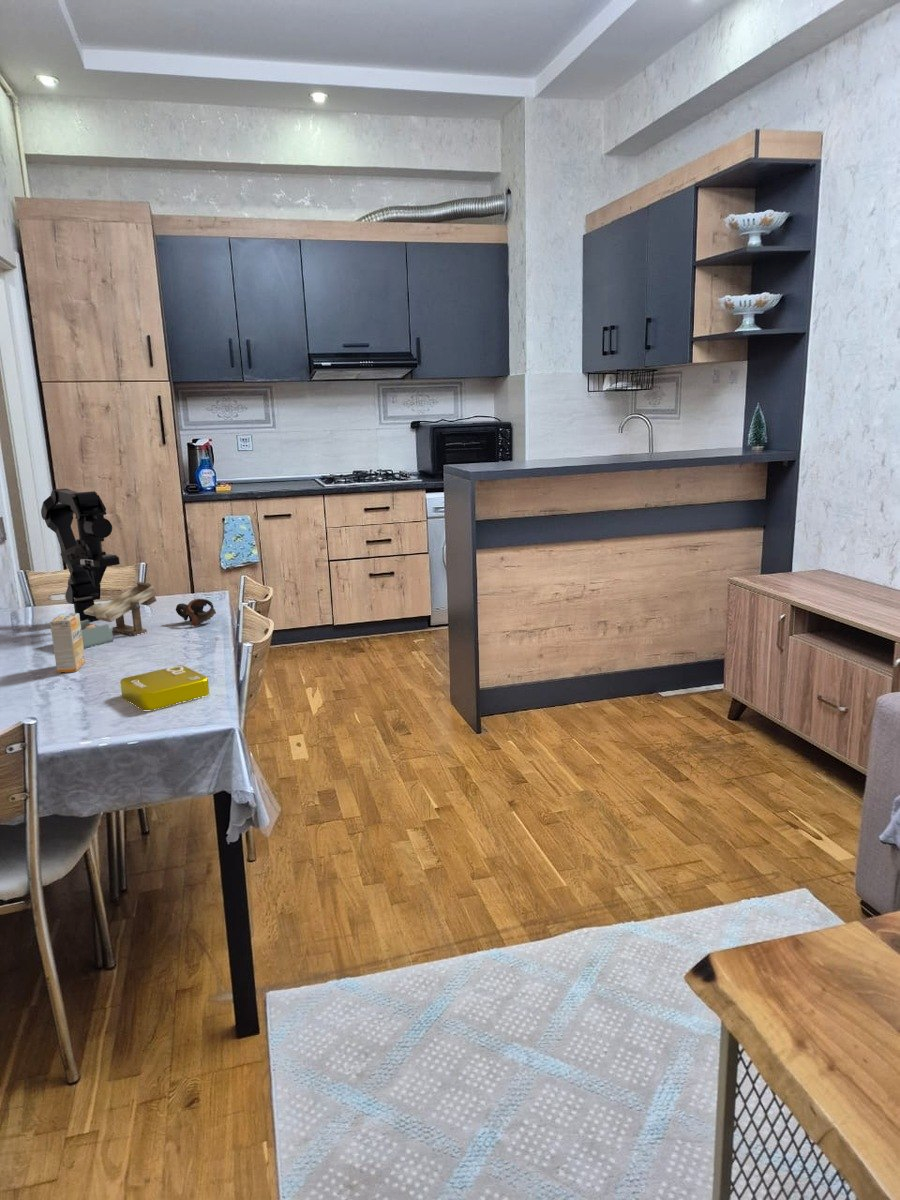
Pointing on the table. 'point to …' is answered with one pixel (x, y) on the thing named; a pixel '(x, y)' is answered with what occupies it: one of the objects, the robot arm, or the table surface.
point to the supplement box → (67, 642)
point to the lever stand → (136, 622)
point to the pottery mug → (196, 611)
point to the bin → (95, 634)
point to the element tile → (164, 687)
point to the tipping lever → (123, 603)
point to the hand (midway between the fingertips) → (96, 587)
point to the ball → (90, 626)
